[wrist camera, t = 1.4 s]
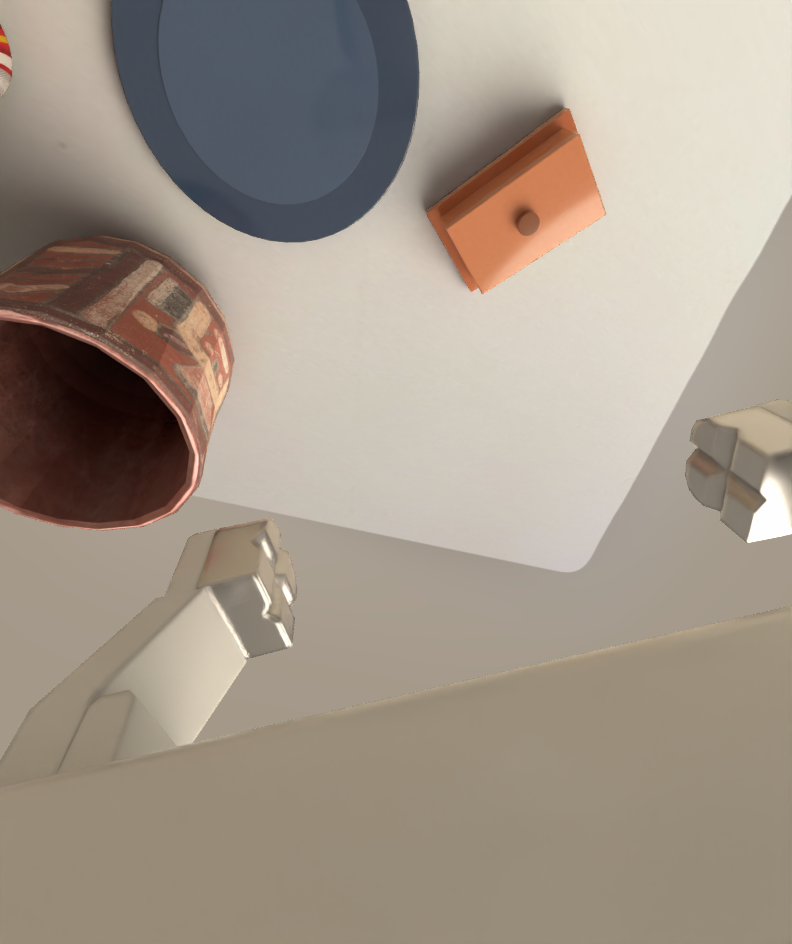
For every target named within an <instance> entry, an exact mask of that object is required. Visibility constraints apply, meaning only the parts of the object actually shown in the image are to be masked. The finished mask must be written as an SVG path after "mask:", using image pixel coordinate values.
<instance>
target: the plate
mask: <svg viewBox="0 0 792 944" xmlns="http://www.w3.org/2000/svg"><path fill="white" fill-rule="evenodd" d="M111 22H112V34H113V45H114V51H115V56H116V62H117V67H118V72H119V76H120V79H121V83H122V86H123V89H124V93H125V96H126V99H127V102H128V104H129V107H130V109H131V112H132V114H133V117H134V119H135V122H136V124H137V126H138V127H139V129H140V131H141V133H142V135H143V137H144V139H145V141H146V143H147V145H148V146H149V148H150V149H151V151H152V153H153V154H154V156H155V157H156V159H157V160H158V162H159V163H160V165H161V166H162V167H163V169H164V170H165V171H166V172H167V174H168V175H169V176H170V178H171V179H172V180H173V181H174V182H175V183H176V184H177V186H178V187H179V188H180V189H181V190H182V191H183V192H184V193H185V194H186V195H187V196H188V197H189V198H190V199H191V200H193V201H194V202H195V203H196V204H197V205H198V206H200V207H201V208H202V209H203V210H204V211H206V212H207V213H209V214H210V215H212V216H213V217H215V218H216V219H217V220H219V221H221V222H222V223H224V224H226V225H228V226H230V227H232V228H234V229H236V230H238V231H240V232H243V233H246V234H248V235H251V236H253V237H257V238H261V239H265V240H269V241H278V242H306V241H312V240H318V239H321V238H324V237H327V236H331V235H333V234H335V233H337V232H340V231H342V230H344V229H346V228H348V227H349V226H351V225H352V224H354V223H355V222H357V221H358V220H360V219H361V218H362V217H363V216H364V215H365V214H367V213H368V212H369V211H370V210H371V209H372V208H373V207H374V206H375V205H376V204H377V203H378V201H379V200H380V199H381V198H382V197H383V196H384V194H385V193H386V191H387V190H388V188H389V187H390V185H391V184H392V182H393V181H394V179H395V178H396V175H397V173H398V171H399V169H400V167H401V165H402V163H403V161H404V159H405V156H406V153H407V150H408V147H409V145H410V142H411V138H412V134H413V130H414V125H415V121H416V115H417V107H418V99H419V61H418V48H417V41H416V36H415V30H414V24H413V19H412V16H411V12H410V9H409V5H408V2H407V0H112V9H111Z"/></svg>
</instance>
